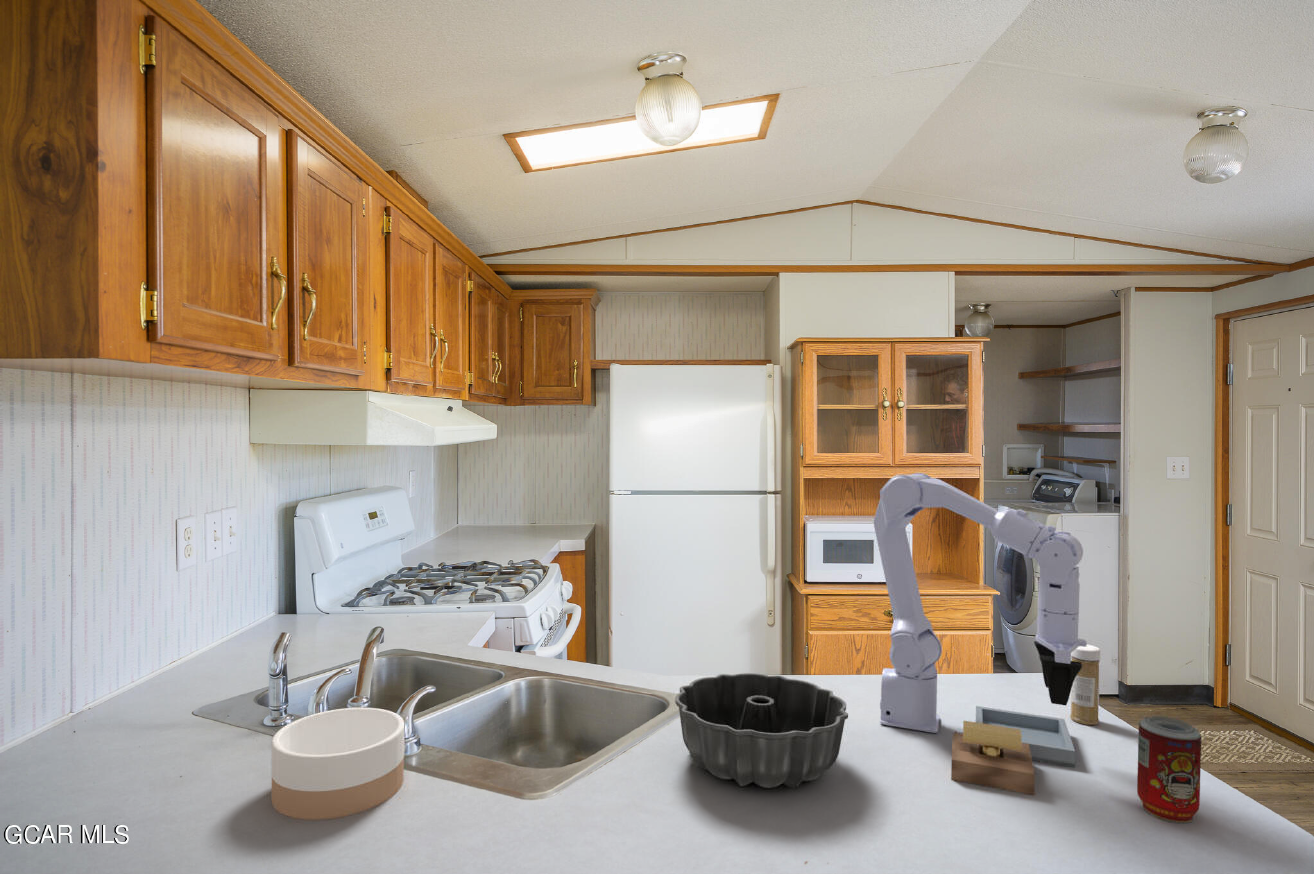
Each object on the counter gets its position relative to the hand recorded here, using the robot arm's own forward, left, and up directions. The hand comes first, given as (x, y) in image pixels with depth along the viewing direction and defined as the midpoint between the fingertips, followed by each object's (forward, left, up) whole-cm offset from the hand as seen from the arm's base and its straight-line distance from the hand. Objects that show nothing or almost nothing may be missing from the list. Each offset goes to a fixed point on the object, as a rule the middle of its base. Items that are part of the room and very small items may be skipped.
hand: (1055, 695), depth 117 cm
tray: (-4, +5, -10) cm, 12 cm away
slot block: (-9, -9, -10) cm, 16 cm away
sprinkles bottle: (+7, +20, -10) cm, 23 cm away
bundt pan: (-42, -21, -11) cm, 48 cm away
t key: (-9, -9, -10) cm, 16 cm away
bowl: (-94, -54, -11) cm, 109 cm away
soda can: (+13, -12, -10) cm, 20 cm away
